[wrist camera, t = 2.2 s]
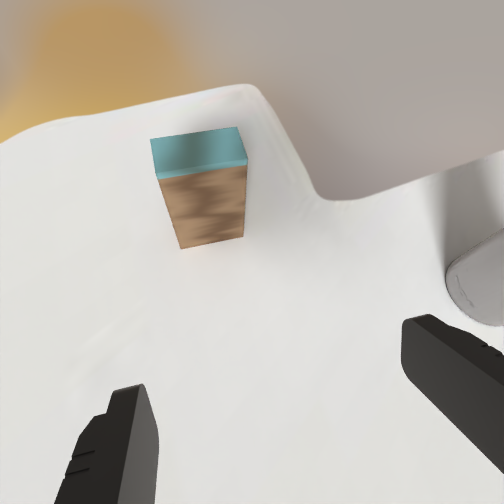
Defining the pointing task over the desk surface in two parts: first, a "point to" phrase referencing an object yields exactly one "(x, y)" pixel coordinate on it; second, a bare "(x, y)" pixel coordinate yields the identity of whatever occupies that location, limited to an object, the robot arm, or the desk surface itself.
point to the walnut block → (203, 184)
